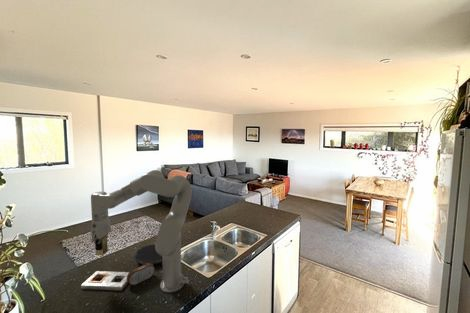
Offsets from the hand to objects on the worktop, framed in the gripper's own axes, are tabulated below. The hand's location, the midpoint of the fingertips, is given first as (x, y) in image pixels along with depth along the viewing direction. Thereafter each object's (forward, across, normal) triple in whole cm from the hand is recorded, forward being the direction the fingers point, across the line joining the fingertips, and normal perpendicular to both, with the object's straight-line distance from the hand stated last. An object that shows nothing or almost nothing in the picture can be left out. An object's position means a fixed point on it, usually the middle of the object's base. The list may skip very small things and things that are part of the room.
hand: (101, 247), depth 121 cm
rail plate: (+20, 0, -3) cm, 20 cm away
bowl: (+20, +23, -18) cm, 35 cm away
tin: (+20, +2, -21) cm, 29 cm away
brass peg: (+3, 0, 0) cm, 3 cm away
